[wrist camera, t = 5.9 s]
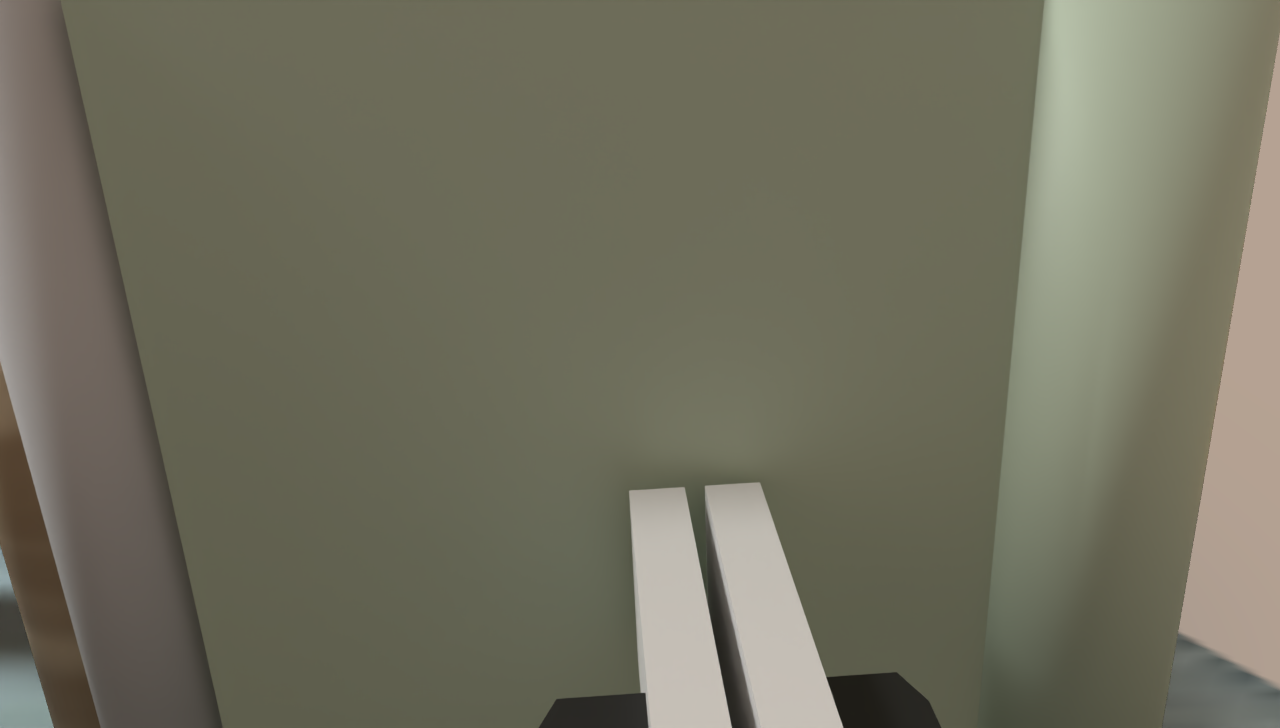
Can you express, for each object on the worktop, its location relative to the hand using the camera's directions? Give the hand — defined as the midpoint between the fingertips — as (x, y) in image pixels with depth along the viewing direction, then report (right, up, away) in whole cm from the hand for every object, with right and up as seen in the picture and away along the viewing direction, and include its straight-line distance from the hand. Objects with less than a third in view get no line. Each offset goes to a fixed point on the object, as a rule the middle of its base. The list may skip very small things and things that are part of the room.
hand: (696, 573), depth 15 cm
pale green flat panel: (-1, -6, +4) cm, 7 cm away
